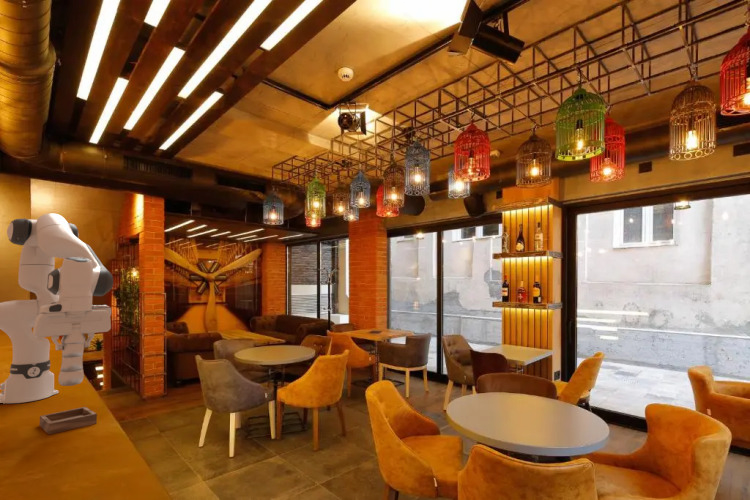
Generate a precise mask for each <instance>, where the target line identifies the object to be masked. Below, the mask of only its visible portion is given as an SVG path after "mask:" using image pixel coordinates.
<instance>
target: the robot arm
mask: <svg viewBox="0 0 750 500" xmlns="http://www.w3.org/2000/svg"><path fill="white" fill-rule="evenodd" d="M6 230H7V231H6V234H7V237H8V240H9V242H10V243H12V244H13V245H17V246H22V249H21V252H20V257H19V264H18V276H17V277H18V278H17V279H18V281H17V282H18V285H19V286H20V288H22V289H23V290H26V291H28V292H31V293H33V294H35V296H36V299H16V300H15V299H13V300H8V301H2V302H0V330H1V331H2V332H4V333H5V334H6V335H7V336H8V337H9V339H10V341H11V345H12V363H11V364H10V368H9V376H8V378H6V379H5V380H4V382H2V383H0V390H1V392H0V403H3V404H21V403H28V402H34V401H39V400H44V399H46V398H49V397H51V396H53V395H57V394H59V390H57V389H55V373H53V372H52V371H50V369H51V360H50V354H51V353H50V351H51V350H50V349H51V342H50V340H49V339H48V338H47V337H51V341H52V342H53V344H54V345H55V351H62V349H63V348H62V347H63V344H62V343H59V342H58V340H59V339H60V336H64V335H69V334H70V333H72V332H74V330H73V329H72V324H79V323H81V326H80V328H81V329H78V331H79V332H81V333H83V334H84V335H85V334H87V339H86V342H85V346H84V348H90V346H91V342H92V340H93V339H94V338H95V335H96V334H95V333H106V332H109V331H110V330H111V329H112V324H111V323H112V322H111V316H112V308H111V306H109V305H107V304H102V305H101V304H93V297H103V296H105V295H106V294H108V293H109V292H111V291H112V290H113V287H114V277H113V274H112V273H111V272H110V271H109V270H108V269H107V268H106V267H105V266H104V265H103V263H102V262H101V260H100V259H99V256H97V254H96V253H95V251H94V250H93V249H92V247H91V246H90V245H89V244H87V243H86V242H83V241H82V240H81V239H80V238H79V236H80V234H79V229H78V227H77V226H76V224H73V223H70V222H68V220H66V219H65V217H63V216H62V215H61V214H58V213H55V212H53V213H52V212H48V213H44V214H42V215H40V216H39V217H38V218H37V219H33V218H32V219H30V218H29V219H28V218H25V217H24V218H16V219H14V220H12V221H10V223H9V225H8V226H7V228H6ZM55 258H57V259H58V258H59V259H63V261H62V265H61V266H60V267H59V268H56V267H55V264H56V259H55ZM32 328H33V329H32Z"/></svg>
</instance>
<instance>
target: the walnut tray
mask: <svg viewBox="0 0 750 500" xmlns="http://www.w3.org/2000/svg"><path fill="white" fill-rule="evenodd" d="M97 418H98V414H97V413H96V412H94V411H93V410H92V409H89V408H88V407H87V406H82V407H77V408H73V409H68V410H64V411H63V410H62V411H58V412H54V413H49V414H44V415H40V416H39V427H40V428H41V429H42V430H43V431H44V432H45V433H46V434H48V435H53V434H57V433H60V432H66V431H69V430H74V429H79V428H84V427H87V426H91V425H95V424H97Z"/></svg>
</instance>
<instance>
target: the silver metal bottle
mask: <svg viewBox="0 0 750 500" xmlns="http://www.w3.org/2000/svg"><path fill="white" fill-rule="evenodd" d="M80 326H81V323H79V324H72V329H73V330H74V332H72V333H70V334H69V335H62V338H61V340H60V341H61V342H60V344H63V347H62V348H63V349H62V350H61V356H62V357H61V367H60V371H59V373H58V383H59V385H60V386H65V387H72V386H76V385H79V384H81V383H82V382H83V381H84V377H85V376H84V375H85V374H84V373H85V372H84V365H83V363H84V362H83V360H84V359H83V357H84V356H83V355H84V350H85V347H84V346H85V342H86V341H87V339H86V335H85V334H83V333H81V332H79V331H78V329H81V328H80Z"/></svg>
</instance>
